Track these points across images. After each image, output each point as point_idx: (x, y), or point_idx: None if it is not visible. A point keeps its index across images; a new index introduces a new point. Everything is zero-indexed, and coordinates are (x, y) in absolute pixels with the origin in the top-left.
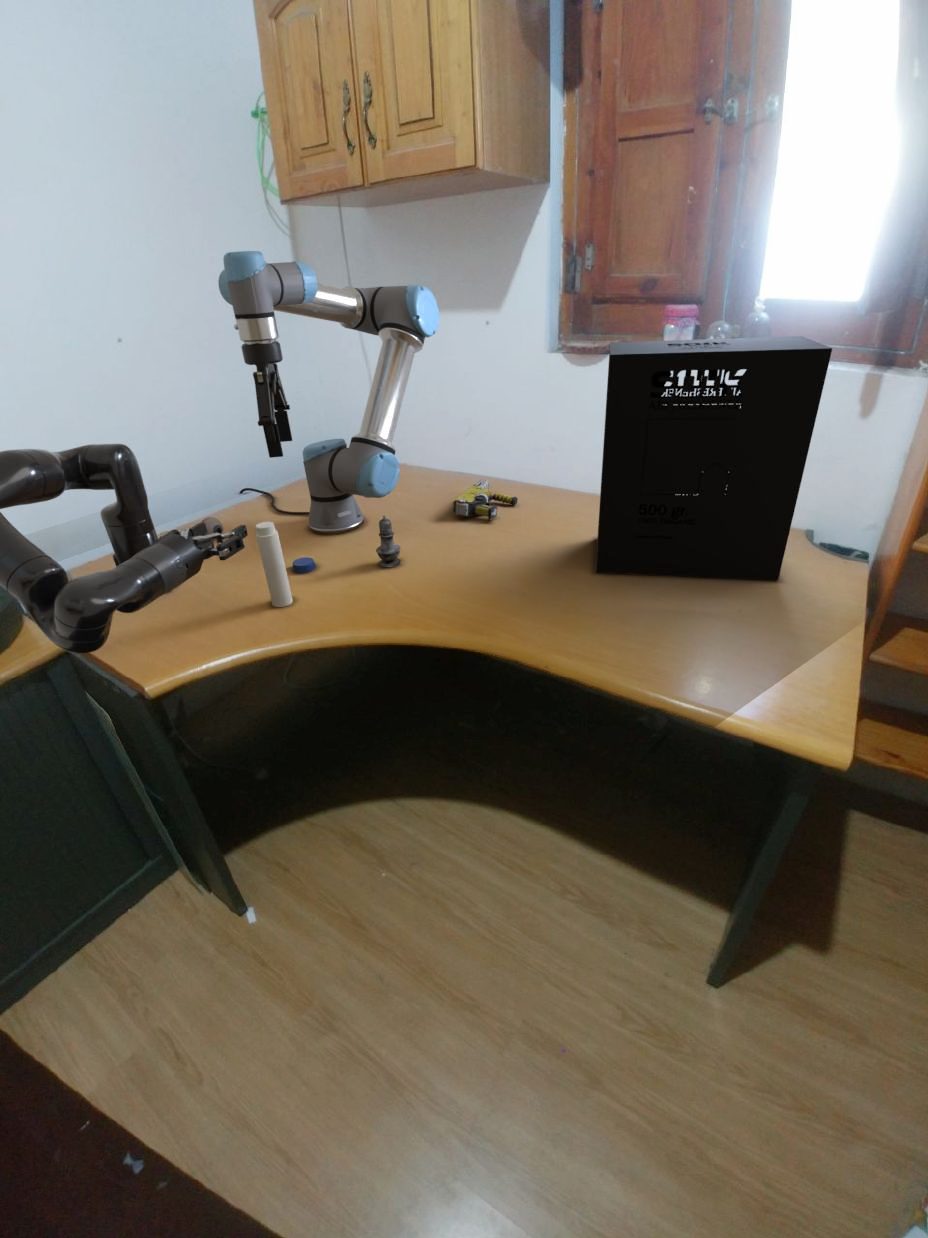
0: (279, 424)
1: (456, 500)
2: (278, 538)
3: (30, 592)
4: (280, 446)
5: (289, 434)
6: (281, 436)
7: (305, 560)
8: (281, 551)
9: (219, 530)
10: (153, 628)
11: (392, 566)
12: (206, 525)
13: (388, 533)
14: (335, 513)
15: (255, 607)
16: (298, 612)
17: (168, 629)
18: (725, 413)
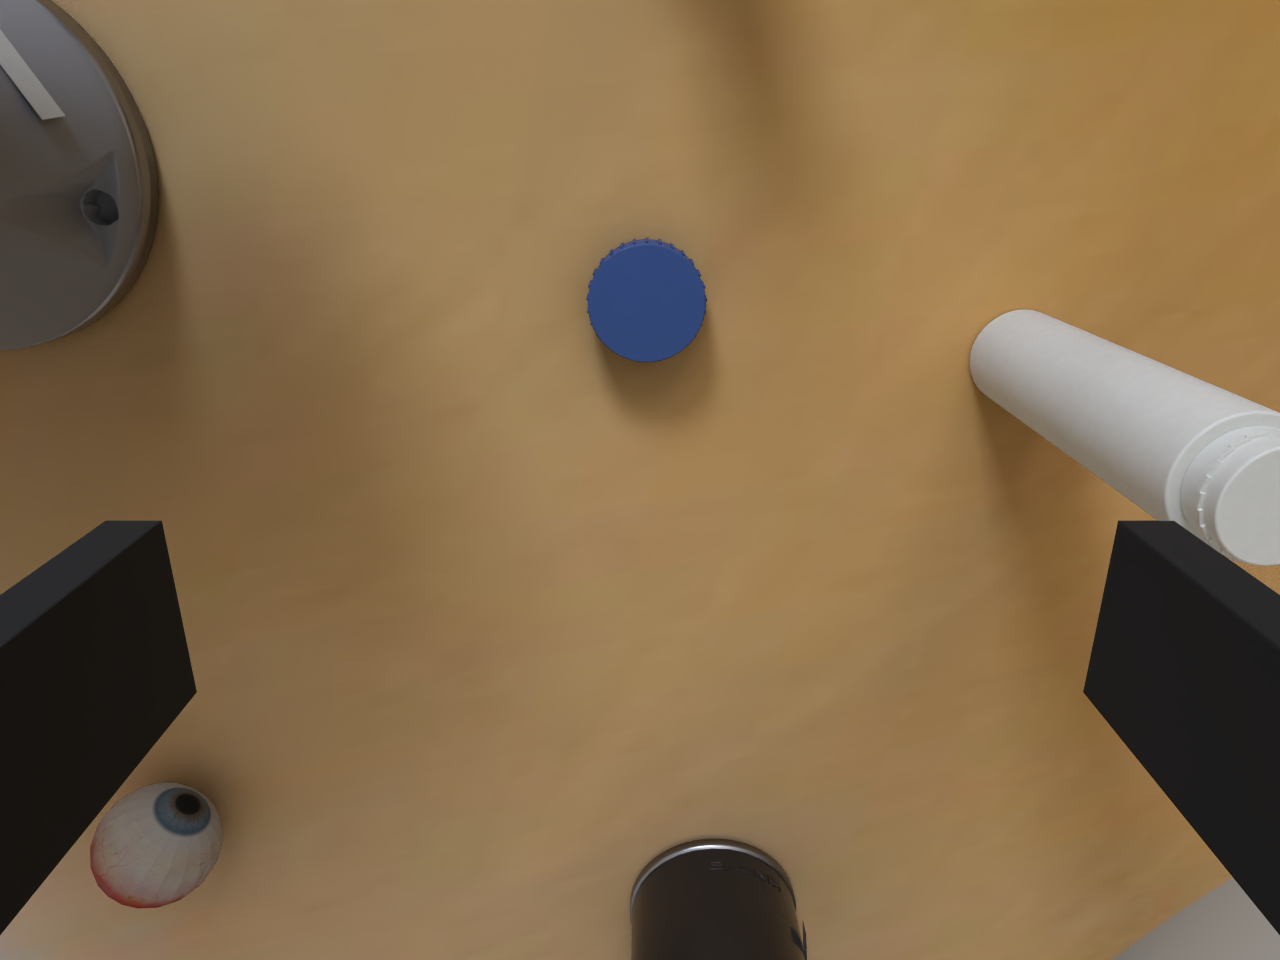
0: (17, 848)
1: None
2: (1235, 397)
3: None
4: (1272, 597)
5: (106, 590)
6: (151, 705)
7: (635, 292)
8: (1173, 373)
9: (189, 802)
10: (1058, 807)
11: None
12: (189, 874)
13: None
14: (39, 136)
15: (1019, 473)
16: (1147, 265)
17: (1088, 757)
18: None
